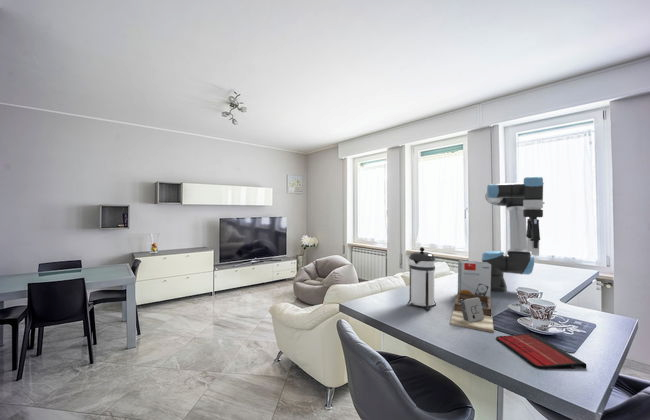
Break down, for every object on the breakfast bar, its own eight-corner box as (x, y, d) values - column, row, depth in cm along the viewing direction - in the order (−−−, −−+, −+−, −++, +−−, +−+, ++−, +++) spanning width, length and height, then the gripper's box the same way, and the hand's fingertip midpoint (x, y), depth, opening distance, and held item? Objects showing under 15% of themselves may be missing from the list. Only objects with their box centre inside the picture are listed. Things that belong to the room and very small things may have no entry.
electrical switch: (470, 323, 116) (468, 300, 117) (459, 320, 121) (458, 298, 122) (484, 319, 120) (483, 298, 121) (474, 316, 125) (472, 295, 126)
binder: (533, 332, 106) (587, 362, 85) (533, 338, 106) (587, 370, 85) (492, 334, 105) (537, 366, 84) (493, 340, 105) (537, 373, 84)
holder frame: (457, 298, 152) (457, 292, 152) (489, 303, 144) (489, 296, 144) (454, 310, 133) (454, 303, 133) (491, 317, 126) (491, 309, 126)
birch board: (453, 312, 131) (453, 310, 131) (492, 318, 123) (492, 316, 123) (450, 324, 118) (450, 321, 118) (493, 332, 110) (493, 330, 110)
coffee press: (444, 311, 133) (444, 249, 133) (411, 310, 133) (411, 249, 133) (431, 299, 150) (431, 245, 150) (402, 299, 150) (402, 244, 150)
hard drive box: (459, 298, 153) (459, 262, 153) (457, 294, 160) (457, 260, 160) (491, 300, 148) (491, 264, 148) (487, 296, 156) (487, 261, 156)
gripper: (548, 208, 118) (548, 257, 118) (538, 209, 140) (537, 250, 140) (527, 208, 122) (526, 256, 122) (520, 209, 143) (519, 249, 143)
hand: (532, 253), depth 131 cm, fingers open, 13 cm apart
